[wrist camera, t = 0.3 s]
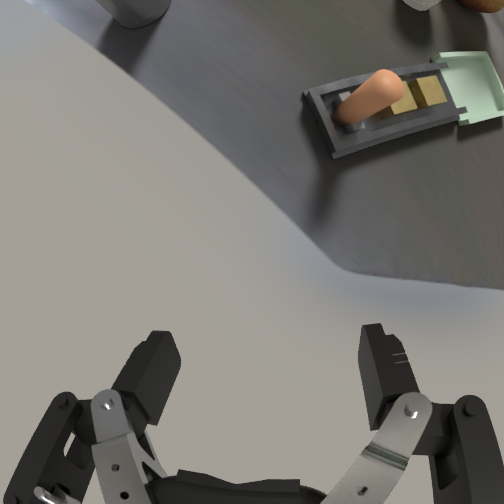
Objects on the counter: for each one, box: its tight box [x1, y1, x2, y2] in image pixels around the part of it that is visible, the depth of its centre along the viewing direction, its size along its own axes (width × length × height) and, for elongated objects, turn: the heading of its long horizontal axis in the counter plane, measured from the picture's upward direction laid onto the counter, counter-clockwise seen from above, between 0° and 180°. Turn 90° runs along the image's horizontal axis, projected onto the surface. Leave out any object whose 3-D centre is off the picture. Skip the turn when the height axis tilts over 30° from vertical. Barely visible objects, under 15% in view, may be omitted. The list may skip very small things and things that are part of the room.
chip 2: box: [407, 75, 447, 111], centre depth 29 cm, size 4×4×4 cm
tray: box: [430, 51, 504, 126], centre depth 29 cm, size 12×14×3 cm
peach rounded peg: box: [333, 69, 404, 134], centre depth 26 cm, size 5×3×14 cm, turn 23°
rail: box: [302, 62, 468, 160], centre depth 31 cm, size 10×24×4 cm, turn 113°
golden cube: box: [379, 81, 417, 120], centre depth 30 cm, size 4×4×4 cm
